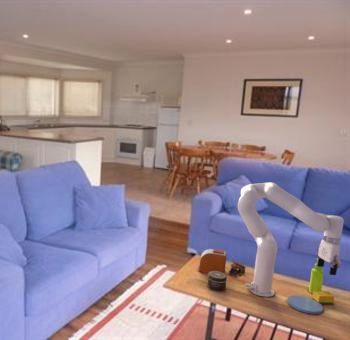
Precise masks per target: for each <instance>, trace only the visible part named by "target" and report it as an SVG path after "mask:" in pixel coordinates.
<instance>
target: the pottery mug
mask: <svg viewBox="0 0 350 340" xmlns="http://www.w3.org/2000/svg"><path fill="white" fill-rule="evenodd" d="M245 274H246V266H244V265H243V264H240V263H239V262H236V261H233V262H232V263H231V264H230V269H229V270H228V275H230V276H231V277H235V278H237V276H238V277H242V276H243V275H245Z"/></svg>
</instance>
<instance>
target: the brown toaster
mask: <svg viewBox="0 0 350 340" xmlns="http://www.w3.org/2000/svg"><path fill="white" fill-rule="evenodd" d="M227 252H228V251H226V250H221V249H215V248H208V249H205V250H204V251H203V252H202V253H201V256H200V259H199V267H198V272H201V273H205V274H206V273H207V274H209V272H211V271H219V272H222V273H224V274H225V275H226V273H225V272H226V263H227V255H228V253H227Z"/></svg>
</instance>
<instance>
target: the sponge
mask: <svg viewBox="0 0 350 340" xmlns="http://www.w3.org/2000/svg"><path fill="white" fill-rule="evenodd" d="M312 299H313V300H315V301H317V302H318V303H320V304H321V305H334V300H335V296H334V295H333V294H332V293H330V292H329V291H321V292H313V294H312Z"/></svg>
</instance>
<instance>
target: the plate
mask: <svg viewBox="0 0 350 340" xmlns="http://www.w3.org/2000/svg"><path fill="white" fill-rule="evenodd" d="M287 304H288V305H289V306H290V307H291V308H293V309H294V310H297V311H299V312H302V313H306V314H313V315H317V314H322V312H323V311H324V308H323V304H320V303H318V302H317V301H315V300H313V298H310V297H307V296H303V295H290V296H288V297H287Z"/></svg>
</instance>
